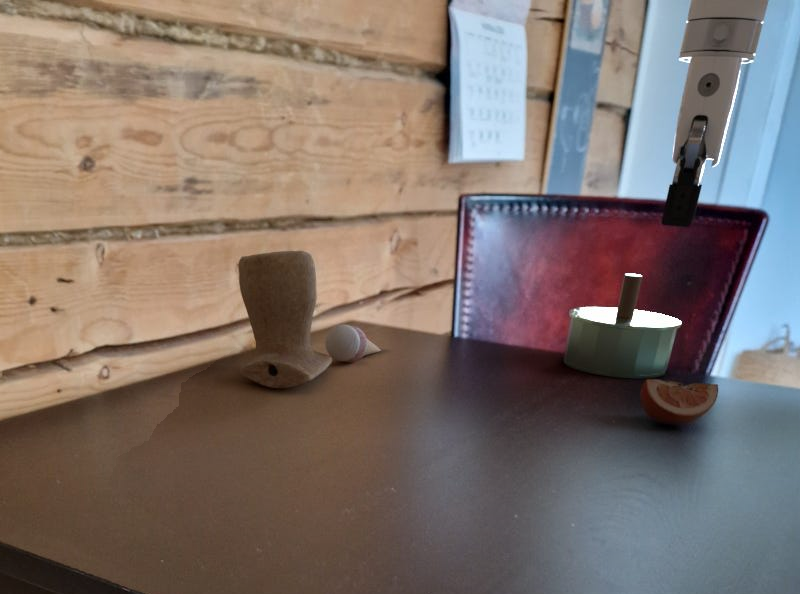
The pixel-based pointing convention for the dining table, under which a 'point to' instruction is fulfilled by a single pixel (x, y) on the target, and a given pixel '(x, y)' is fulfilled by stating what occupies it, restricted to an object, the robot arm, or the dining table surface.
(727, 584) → the dining table surface
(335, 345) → the ice cream cone
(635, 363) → the pan
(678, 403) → the fruit slice
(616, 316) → the lid
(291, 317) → the brown flared upright piece
